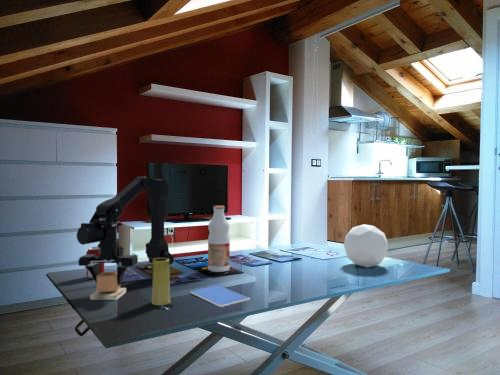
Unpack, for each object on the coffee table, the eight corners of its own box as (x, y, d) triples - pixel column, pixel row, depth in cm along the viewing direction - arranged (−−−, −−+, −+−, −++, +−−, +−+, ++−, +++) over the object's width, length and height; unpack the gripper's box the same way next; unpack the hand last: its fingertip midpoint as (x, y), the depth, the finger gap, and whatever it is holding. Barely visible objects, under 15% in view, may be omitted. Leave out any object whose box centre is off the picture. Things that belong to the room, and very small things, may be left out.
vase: (153, 299, 133) (152, 257, 133) (171, 299, 134) (171, 257, 133) (150, 306, 127) (149, 261, 126) (169, 305, 128) (169, 261, 127)
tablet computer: (251, 301, 134) (251, 297, 134) (220, 309, 126) (220, 305, 126) (218, 288, 149) (218, 284, 149) (188, 294, 141) (188, 291, 141)
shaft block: (126, 292, 142) (126, 273, 141) (116, 300, 133) (116, 280, 132) (101, 291, 142) (101, 273, 142) (90, 299, 133) (89, 280, 133)
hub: (122, 285, 141) (122, 271, 140) (114, 291, 134) (114, 277, 133) (102, 285, 141) (102, 271, 141) (94, 291, 134) (93, 276, 134)
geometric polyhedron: (373, 283, 178) (383, 253, 166) (333, 262, 188) (339, 233, 175) (389, 257, 190) (399, 227, 178) (350, 238, 199) (357, 209, 187)
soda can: (98, 280, 157) (98, 249, 157) (83, 279, 159) (82, 249, 158) (107, 275, 164) (107, 246, 163) (92, 274, 165) (92, 246, 165)
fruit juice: (205, 268, 177) (205, 205, 176) (224, 266, 181) (224, 204, 180) (212, 273, 168) (212, 207, 167) (233, 271, 172) (233, 206, 171)
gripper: (142, 236, 144) (142, 279, 145) (92, 235, 145) (92, 278, 146) (131, 241, 133) (132, 288, 134) (77, 241, 134) (77, 287, 135)
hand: (108, 285), depth 137 cm, fingers closed on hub, 7 cm apart
